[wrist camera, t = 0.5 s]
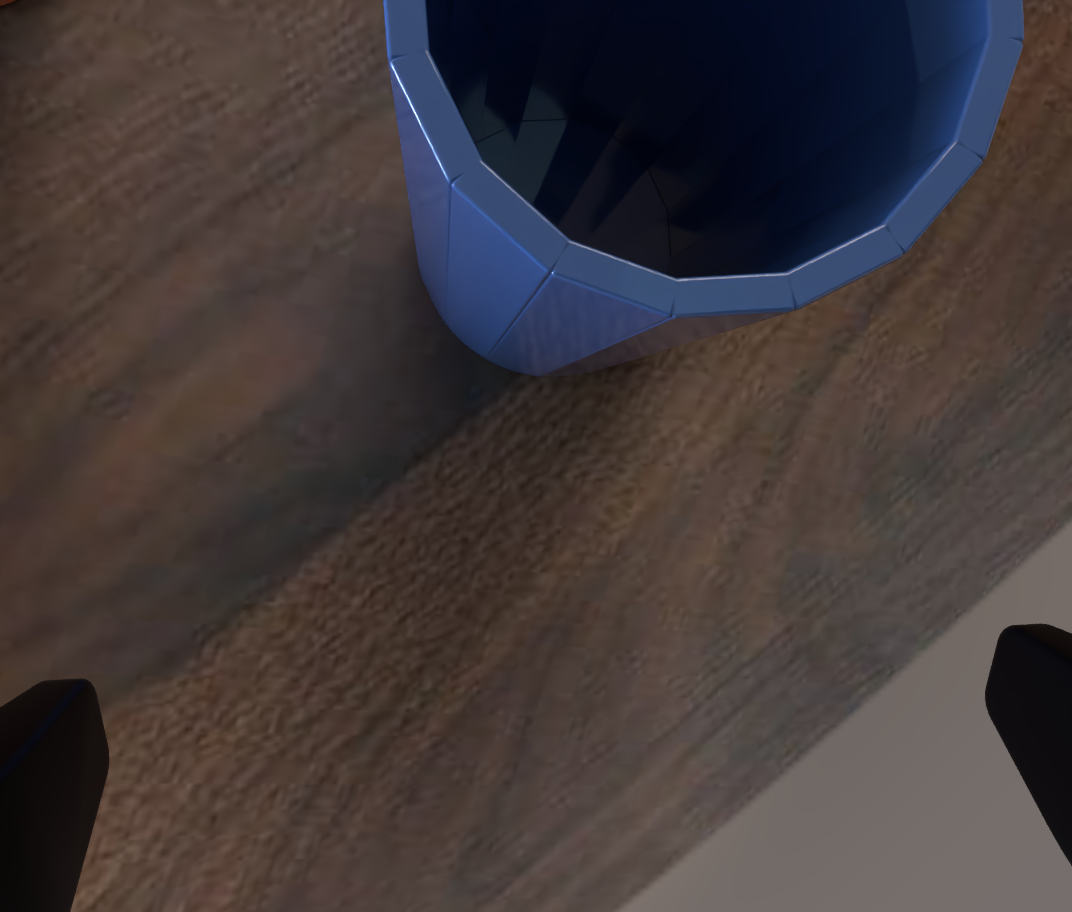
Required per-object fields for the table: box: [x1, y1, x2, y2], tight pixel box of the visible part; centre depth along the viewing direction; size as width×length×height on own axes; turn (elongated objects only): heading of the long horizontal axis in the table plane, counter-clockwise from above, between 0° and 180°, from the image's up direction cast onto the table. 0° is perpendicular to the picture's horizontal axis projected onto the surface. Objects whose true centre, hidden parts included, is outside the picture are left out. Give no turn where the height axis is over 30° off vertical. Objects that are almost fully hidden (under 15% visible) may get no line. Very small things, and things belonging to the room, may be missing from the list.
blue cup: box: [383, 0, 1024, 377], centre depth 15 cm, size 6×6×13 cm
